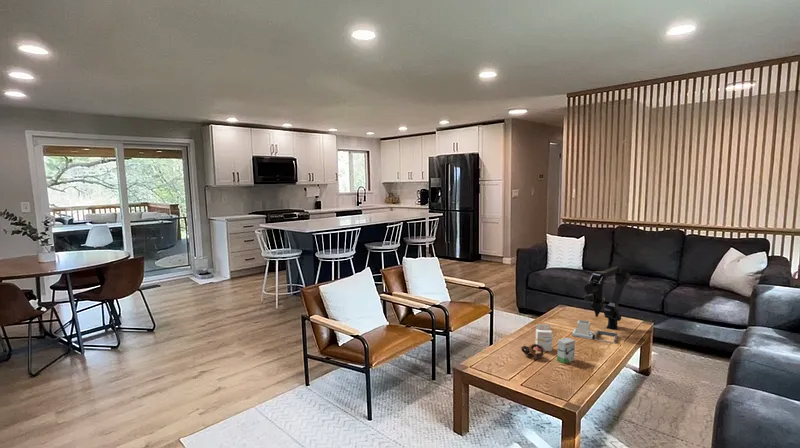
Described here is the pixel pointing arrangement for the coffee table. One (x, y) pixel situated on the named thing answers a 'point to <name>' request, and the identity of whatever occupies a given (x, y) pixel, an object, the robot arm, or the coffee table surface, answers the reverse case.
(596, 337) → the grey flat square frame
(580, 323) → the cream box grey panel
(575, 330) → the tray
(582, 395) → the coffee table surface
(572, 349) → the ink box
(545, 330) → the ink cartridge box
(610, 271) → the robot arm
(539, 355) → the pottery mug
